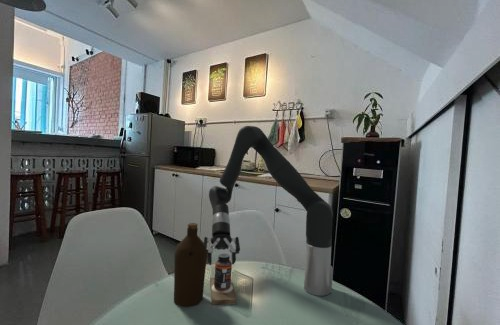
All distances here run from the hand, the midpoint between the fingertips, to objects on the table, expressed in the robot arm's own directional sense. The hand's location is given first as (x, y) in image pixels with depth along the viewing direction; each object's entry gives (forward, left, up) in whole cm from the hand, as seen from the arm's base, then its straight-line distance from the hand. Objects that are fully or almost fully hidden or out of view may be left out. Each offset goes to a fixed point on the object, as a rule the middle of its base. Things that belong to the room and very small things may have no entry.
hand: (221, 263), depth 91 cm
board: (0, +4, -8) cm, 9 cm away
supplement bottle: (0, +4, -7) cm, 8 cm away
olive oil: (+11, +8, -8) cm, 16 cm away
